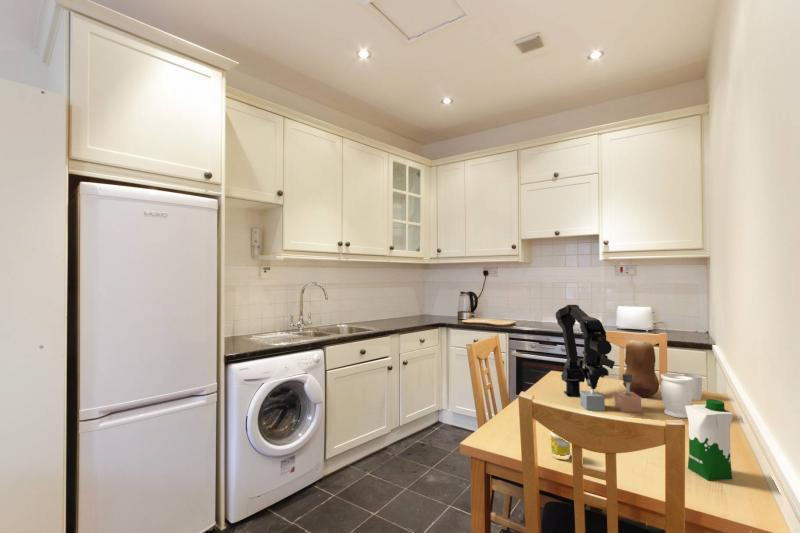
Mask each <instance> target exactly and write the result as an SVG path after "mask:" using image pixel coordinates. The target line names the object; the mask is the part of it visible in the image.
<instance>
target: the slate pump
mask: <svg viewBox="0 0 800 533" xmlns="http://www.w3.org/2000/svg"><path fill="white" fill-rule="evenodd" d="M586 383H587V387H590V391H591V394H594V391H595V389H592V386H591V383H590V381H589V379H587V381H586ZM597 387H598V385H597V386H596V388H597Z"/></svg>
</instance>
